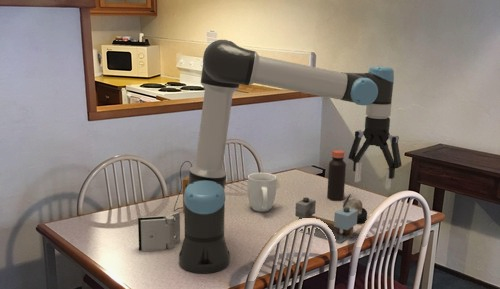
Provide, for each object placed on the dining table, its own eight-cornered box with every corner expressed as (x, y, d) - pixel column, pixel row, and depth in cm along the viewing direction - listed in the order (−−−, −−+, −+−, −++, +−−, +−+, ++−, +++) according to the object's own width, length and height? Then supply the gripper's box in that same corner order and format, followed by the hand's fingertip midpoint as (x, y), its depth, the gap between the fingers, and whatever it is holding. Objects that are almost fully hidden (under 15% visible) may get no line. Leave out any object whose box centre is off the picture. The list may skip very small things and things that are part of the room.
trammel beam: (346, 239, 166) (348, 213, 164) (294, 223, 179) (296, 199, 176) (356, 233, 172) (357, 207, 170) (305, 218, 184) (306, 194, 182)
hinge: (179, 240, 163) (179, 211, 161) (184, 246, 158) (184, 217, 156) (137, 247, 157) (136, 217, 155) (141, 254, 153) (140, 223, 150)
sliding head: (346, 235, 166) (348, 212, 164) (333, 231, 169) (335, 209, 167) (356, 229, 171) (358, 207, 170) (343, 225, 174) (344, 203, 173)
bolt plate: (340, 243, 163) (340, 240, 163) (287, 227, 175) (288, 224, 175) (349, 237, 168) (349, 234, 168) (298, 222, 180) (298, 219, 180)
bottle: (323, 197, 207) (326, 151, 202) (333, 194, 211) (336, 148, 207) (336, 202, 202) (339, 154, 197) (346, 198, 206) (350, 151, 202)
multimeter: (216, 205, 195) (216, 156, 191) (211, 214, 186) (211, 162, 181) (179, 203, 197) (178, 154, 192) (173, 212, 187) (172, 161, 183)
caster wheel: (360, 231, 180) (335, 221, 185) (371, 216, 188) (347, 207, 193) (363, 216, 177) (337, 206, 181) (374, 201, 185) (349, 192, 190)
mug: (279, 217, 184) (281, 183, 181) (250, 218, 183) (251, 184, 180) (272, 203, 199) (273, 172, 196) (245, 204, 197) (246, 172, 194)
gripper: (417, 119, 152) (410, 189, 157) (350, 110, 165) (346, 175, 171) (408, 122, 146) (401, 194, 152) (340, 113, 160) (335, 180, 165)
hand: (372, 184), depth 161 cm, fingers open, 10 cm apart
